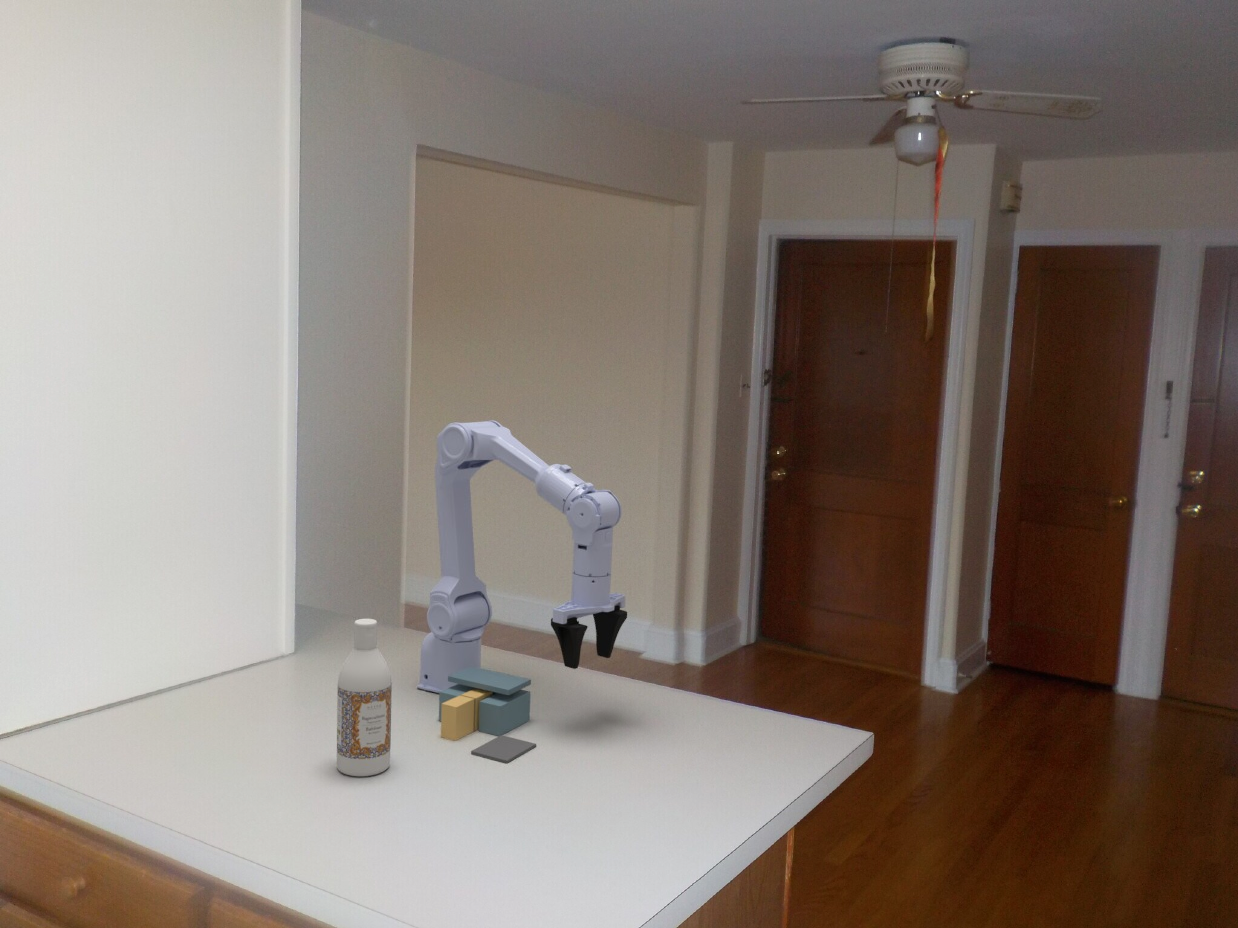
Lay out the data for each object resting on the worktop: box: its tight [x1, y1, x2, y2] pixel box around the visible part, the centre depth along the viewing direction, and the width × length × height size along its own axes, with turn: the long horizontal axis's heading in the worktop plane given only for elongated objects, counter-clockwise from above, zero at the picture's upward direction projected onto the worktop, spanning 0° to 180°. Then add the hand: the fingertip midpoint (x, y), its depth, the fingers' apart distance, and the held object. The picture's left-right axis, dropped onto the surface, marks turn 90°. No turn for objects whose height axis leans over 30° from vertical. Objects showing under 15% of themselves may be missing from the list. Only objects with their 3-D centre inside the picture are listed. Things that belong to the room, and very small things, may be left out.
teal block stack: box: [438, 666, 532, 737], centre depth 164 cm, size 11×8×6 cm
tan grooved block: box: [440, 688, 492, 741], centre depth 160 cm, size 3×9×5 cm, turn 152°
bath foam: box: [336, 618, 393, 777], centre depth 144 cm, size 7×7×20 cm
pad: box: [470, 734, 537, 764], centre depth 153 cm, size 6×7×1 cm
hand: (587, 661), depth 163 cm, fingers open, 7 cm apart
